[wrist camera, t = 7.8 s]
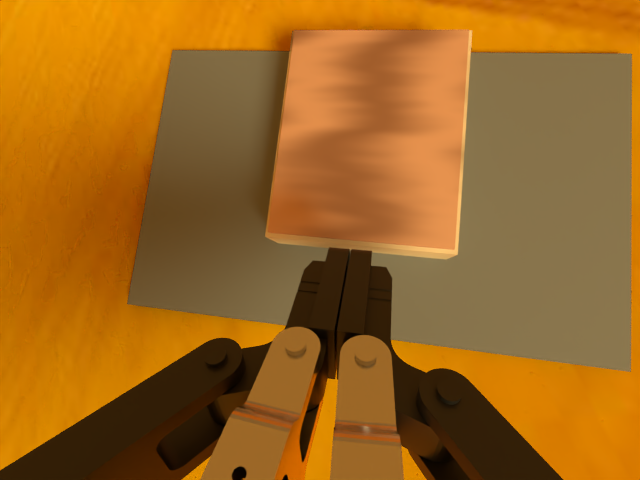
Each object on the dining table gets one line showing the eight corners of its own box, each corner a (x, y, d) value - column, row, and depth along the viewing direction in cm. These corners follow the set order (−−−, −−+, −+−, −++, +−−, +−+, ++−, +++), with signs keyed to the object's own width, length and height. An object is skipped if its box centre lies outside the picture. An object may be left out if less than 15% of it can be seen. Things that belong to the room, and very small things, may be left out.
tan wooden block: (263, 235, 17) (291, 26, 18) (278, 243, 20) (301, 61, 21) (459, 254, 16) (473, 25, 17) (446, 259, 18) (459, 62, 20)
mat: (132, 303, 21) (127, 304, 21) (176, 55, 23) (172, 50, 23) (623, 369, 17) (630, 371, 16) (624, 59, 19) (631, 53, 18)
